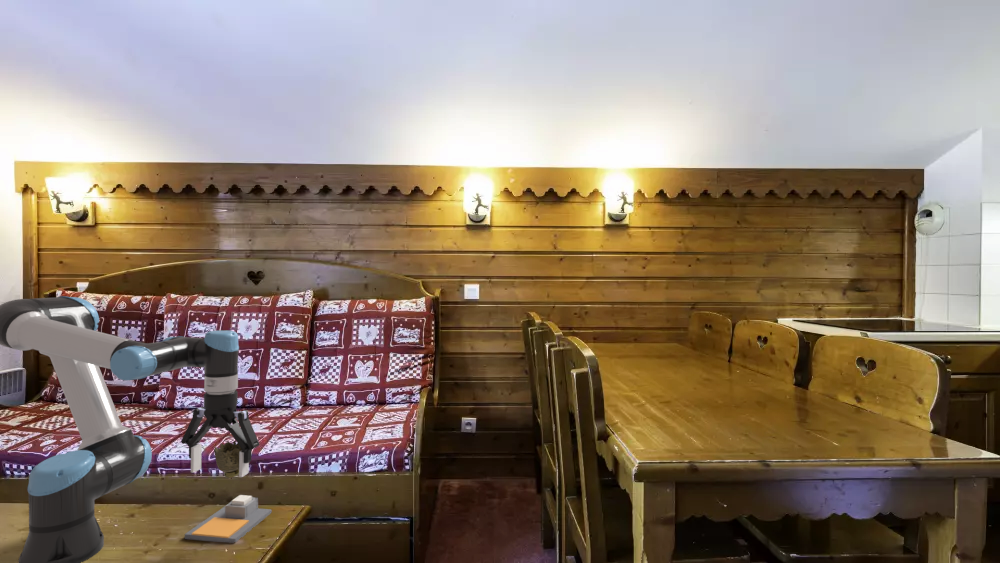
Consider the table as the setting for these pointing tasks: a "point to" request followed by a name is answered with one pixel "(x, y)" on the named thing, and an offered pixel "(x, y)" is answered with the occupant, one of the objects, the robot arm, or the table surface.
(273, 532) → the table surface
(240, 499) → the button
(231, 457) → the cup
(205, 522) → the plate
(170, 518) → the table surface
